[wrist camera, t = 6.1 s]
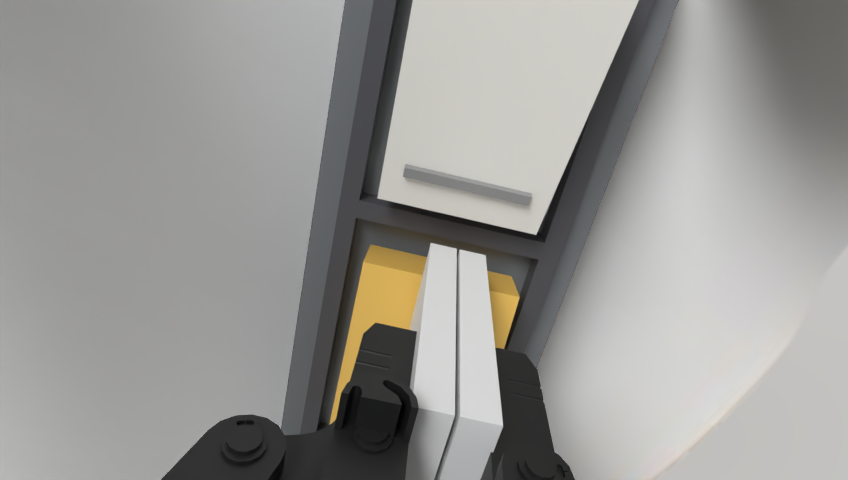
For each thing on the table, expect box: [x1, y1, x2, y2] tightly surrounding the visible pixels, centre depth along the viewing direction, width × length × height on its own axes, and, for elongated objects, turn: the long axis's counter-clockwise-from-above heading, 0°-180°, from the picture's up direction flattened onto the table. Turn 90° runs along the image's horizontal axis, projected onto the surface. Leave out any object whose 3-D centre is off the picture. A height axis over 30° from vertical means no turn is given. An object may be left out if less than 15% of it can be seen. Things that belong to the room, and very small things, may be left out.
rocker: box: [377, 0, 639, 235], centre depth 14 cm, size 8×5×2 cm, turn 167°
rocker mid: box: [329, 244, 520, 425], centre depth 18 cm, size 8×5×2 cm, turn 167°
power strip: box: [281, 0, 679, 435], centre depth 20 cm, size 34×9×5 cm, turn 167°
